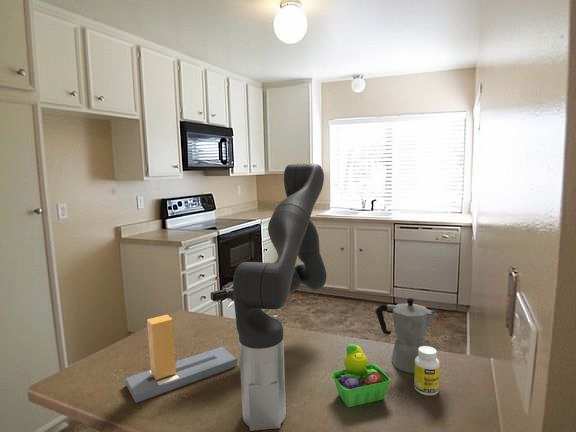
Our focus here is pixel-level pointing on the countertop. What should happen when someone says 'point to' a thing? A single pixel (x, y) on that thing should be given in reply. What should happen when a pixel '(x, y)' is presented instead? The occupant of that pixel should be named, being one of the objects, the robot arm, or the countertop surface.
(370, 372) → the fruit basket
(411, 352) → the coffeepot
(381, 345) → the countertop surface
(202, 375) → the switch panel
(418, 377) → the supplement bottle
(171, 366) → the slider tab
